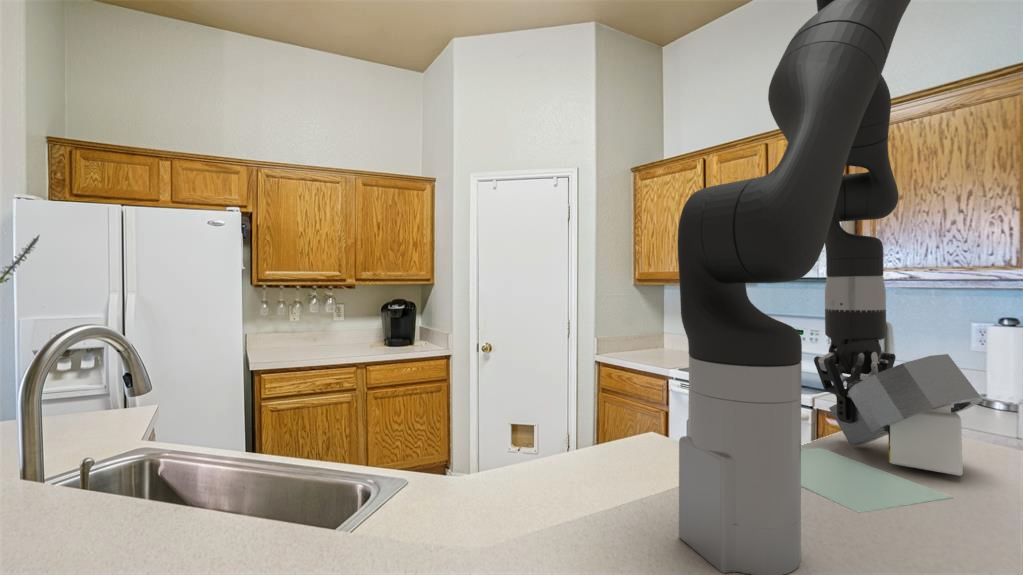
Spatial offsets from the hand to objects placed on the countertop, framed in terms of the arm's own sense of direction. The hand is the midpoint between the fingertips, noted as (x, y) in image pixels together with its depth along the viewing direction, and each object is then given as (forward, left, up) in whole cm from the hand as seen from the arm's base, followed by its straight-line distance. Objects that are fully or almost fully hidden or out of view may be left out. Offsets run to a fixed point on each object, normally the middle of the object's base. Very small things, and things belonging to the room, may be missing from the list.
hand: (855, 420), depth 73 cm
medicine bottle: (0, -10, -4) cm, 10 cm away
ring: (0, -9, +3) cm, 10 cm away
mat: (-14, -8, -4) cm, 17 cm away
